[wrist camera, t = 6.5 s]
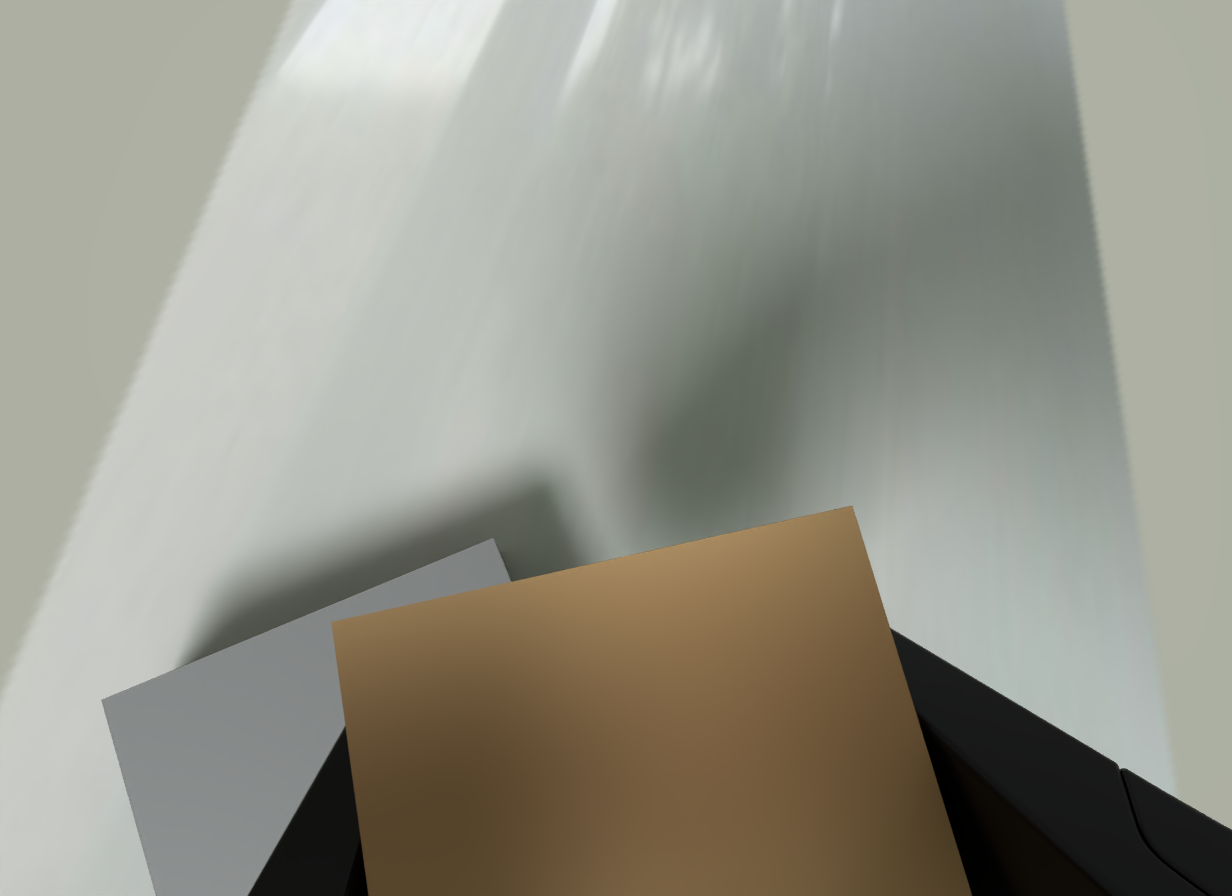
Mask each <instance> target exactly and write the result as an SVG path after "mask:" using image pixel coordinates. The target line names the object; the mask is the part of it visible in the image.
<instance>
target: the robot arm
mask: <svg viewBox="0 0 1232 896" xmlns="http://www.w3.org/2000/svg"><path fill="white" fill-rule="evenodd" d="M890 630H891V633H892V636H893V640H894V643H895V646H896V649H897V653H898V656H899V659H900V662H901V666H902V669H903V672H904V675H905V679H906V682H907V685H908V688H909V692H910V695H911V698H912V701H913V705H914V708H915V711H916V714H917V718H918V721H919V724H920V728H921V731H922V734H923V737H924V741H925V744H926V747H927V750H928V754H929V757H930V760H931V763H932V767H933V770H934V773H935V776H936V780H937V783H938V786H939V789H940V793H941V796H942V799H943V802H944V806H945V809H946V812H947V815H948V819H949V822H950V825H951V829H952V832H953V835H954V838H955V842H956V845H957V848H958V851H959V855H960V858H961V861H962V864H963V868H964V871H965V874H966V877H967V881H968V884H969V887H970V890H971V894H972V896H1232V830H1231V829H1230V828H1228V827H1226V826H1224V825H1222V824H1220V823H1219V822H1217V821H1215V820H1213V819H1212V818H1210V817H1208V816H1206V815H1205V814H1203V813H1201V812H1199V811H1198V810H1196V809H1194V808H1192V807H1191V806H1189V805H1187V804H1185V803H1184V802H1182V801H1180V800H1178V799H1177V798H1175V797H1173V796H1172V795H1170V794H1168V793H1166V792H1165V791H1163V790H1161V789H1159V788H1158V787H1156V786H1154V785H1153V784H1151V783H1149V782H1148V781H1146V780H1144V779H1143V778H1141V777H1139V776H1138V775H1136V774H1134V773H1133V772H1131V771H1129V770H1128V769H1125V768H1122V769H1119V766H1118V765H1117V763H1115V762H1114V761H1112V760H1110V759H1109V758H1107V757H1105V756H1104V755H1102V754H1100V753H1099V752H1097V751H1095V750H1094V749H1092V748H1090V747H1089V746H1087V745H1085V744H1084V743H1082V742H1080V741H1079V740H1077V739H1075V738H1074V737H1072V736H1070V735H1069V734H1067V733H1065V732H1064V731H1062V730H1060V729H1059V728H1057V727H1055V726H1054V725H1052V724H1050V723H1049V722H1047V721H1045V720H1044V719H1042V718H1040V717H1039V716H1037V715H1035V714H1034V713H1032V712H1030V711H1029V710H1027V709H1025V708H1023V707H1022V706H1020V705H1018V704H1017V703H1015V702H1013V701H1012V700H1010V699H1008V698H1007V697H1005V696H1003V695H1002V694H1000V693H998V692H997V691H995V690H993V689H992V688H990V687H988V686H987V685H985V684H983V683H982V682H980V681H978V680H977V679H975V678H973V677H972V676H970V675H968V674H967V673H965V672H963V671H962V670H960V669H958V668H957V667H955V666H953V665H952V664H950V663H948V662H947V661H945V660H943V659H942V658H940V657H938V656H937V655H935V654H933V653H931V652H930V651H928V650H926V649H925V648H923V647H921V646H920V645H918V644H916V643H915V642H913V641H911V640H910V639H908V638H906V637H905V636H903V635H901V634H900V633H898V632H896V631H895V630H893V629H891V628H890ZM247 896H369V895H368V888H367V880H366V873H365V866H364V858H363V851H362V844H361V836H360V829H359V822H358V815H357V807H356V800H355V793H354V785H353V778H352V771H351V763H350V756H349V749H348V741H347V734H346V727H345V726H344V728H343V730H342V732H341V733H340V735H339V737H338V739H337V740H336V742H335V744H334V745H333V747H332V749H331V751H330V752H329V754H328V756H327V758H326V759H325V761H324V763H323V765H322V766H321V768H320V770H319V772H318V773H317V775H316V777H315V779H314V780H313V782H312V784H311V786H310V787H309V789H308V791H307V793H306V794H305V796H304V798H303V800H302V801H301V803H300V805H299V807H298V808H297V810H296V812H295V814H294V815H293V817H292V819H291V820H290V822H289V824H288V826H287V827H286V829H285V831H284V833H283V834H282V836H281V838H280V840H279V841H278V843H277V845H276V847H275V848H274V850H273V852H272V854H271V855H270V857H269V859H268V861H267V862H266V864H265V866H264V868H263V869H262V871H261V873H260V875H259V876H258V878H257V880H256V882H255V883H254V885H253V887H252V888H251V890H250V892H249V894H248V895H247Z"/></svg>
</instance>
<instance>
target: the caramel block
mask: <svg viewBox="0 0 1232 896" xmlns="http://www.w3.org/2000/svg"><path fill="white" fill-rule="evenodd" d="M331 624H332V632H333V639H334V646H335V654H336V661H337V668H338V675H339V683H340V690H341V697H342V705H343V712H344V719H345V727H346V734H347V741H348V749H349V756H350V763H351V771H352V778H353V785H354V793H355V800H356V807H357V815H358V822H359V829H360V836H361V844H362V851H363V858H364V866H365V873H366V880H367V888H368V895H369V896H972V894H971V890H970V887H969V884H968V881H967V877H966V874H965V871H964V868H963V864H962V861H961V858H960V855H959V851H958V848H957V845H956V842H955V838H954V835H953V832H952V829H951V825H950V822H949V819H948V815H947V812H946V809H945V806H944V802H943V799H942V796H941V793H940V789H939V786H938V783H937V780H936V776H935V773H934V770H933V767H932V763H931V760H930V757H929V754H928V750H927V747H926V744H925V741H924V737H923V734H922V731H921V728H920V724H919V721H918V718H917V714H916V711H915V708H914V705H913V701H912V698H911V695H910V692H909V688H908V685H907V682H906V679H905V675H904V672H903V669H902V666H901V662H900V659H899V656H898V653H897V649H896V646H895V643H894V640H893V636H892V633H891V630H890V627H889V623H888V620H887V617H886V613H885V610H884V607H883V604H882V600H881V597H880V594H879V591H878V587H877V584H876V581H875V578H874V574H873V571H872V568H871V565H870V561H869V558H868V555H867V552H866V548H865V545H864V542H863V539H862V535H861V532H860V529H859V526H858V522H857V519H856V516H855V512H854V509H853V506H849V507H844V508H840V509H835V510H831V511H826V512H822V513H817V514H813V515H808V516H804V517H799V518H795V519H790V520H786V521H781V522H777V523H772V524H768V525H763V526H759V527H754V528H750V529H745V530H741V531H736V532H732V533H728V534H723V535H719V536H714V537H710V538H705V539H701V540H696V541H692V542H687V543H683V544H678V545H674V546H669V547H665V548H660V549H656V550H651V551H647V552H642V553H638V554H633V555H629V556H624V557H620V558H616V559H611V560H607V561H602V562H598V563H593V564H589V565H584V566H580V567H575V568H571V569H566V570H562V571H557V572H553V573H548V574H544V575H539V576H535V577H530V578H526V579H521V580H517V581H512V582H508V583H504V584H499V585H495V586H490V587H486V588H481V589H477V590H472V591H468V592H463V593H459V594H454V595H450V596H445V597H441V598H436V599H432V600H427V601H423V602H418V603H414V604H409V605H405V606H400V607H396V608H391V609H387V610H383V611H378V612H374V613H369V614H365V615H360V616H356V617H351V618H347V619H342V620H338V621H333V622H331Z"/></svg>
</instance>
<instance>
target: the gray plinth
mask: <svg viewBox="0 0 1232 896" xmlns="http://www.w3.org/2000/svg"><path fill="white" fill-rule="evenodd" d="M508 582H512V580H511V578H510V575H509V573H508V570H507V568H506V565H505V563H504V560H503V558H502V555H501V553H500V550H499V548H498V546H497V544H496V542H495V540H494V538H491V539H489V540H486V541H484V542H482V543H479V544H477V545H474V546H472V547H469V548H467V549H465V550H462V551H460V552H457V553H455V554H453V555H450V556H448V557H445V558H443V559H440V560H438V561H436V562H433V563H431V564H428V565H426V566H424V567H421V568H419V569H416V570H414V571H412V572H409V573H407V574H404V575H402V576H399V577H397V578H395V579H392V580H390V581H387V582H385V583H383V584H380V585H378V586H375V587H373V588H370V589H368V590H366V591H363V592H361V593H358V594H356V595H354V596H351V597H349V598H346V599H344V600H341V601H339V602H337V603H334V604H332V605H329V606H327V607H325V608H322V609H320V610H317V611H315V612H313V613H310V614H308V615H305V616H303V617H300V618H298V619H296V620H293V621H291V622H288V623H286V624H284V625H281V626H279V627H276V628H274V629H271V630H269V631H267V632H264V633H262V634H259V635H257V636H255V637H252V638H250V639H247V640H245V641H243V642H240V643H238V644H235V645H233V646H230V647H228V648H226V649H223V650H221V651H218V652H216V653H214V654H211V655H209V656H206V657H204V658H201V659H199V660H197V661H194V662H192V663H189V664H187V665H185V666H182V667H180V668H177V669H175V670H172V671H170V672H168V673H165V674H163V675H160V676H158V677H156V678H153V679H151V680H148V681H146V682H144V683H141V684H139V685H136V686H134V687H131V688H129V689H127V690H124V691H122V692H119V693H117V694H115V695H112V696H110V697H107V698H105V699H102V704H103V707H104V711H105V715H106V718H107V722H108V725H109V729H110V732H111V736H112V740H113V743H114V747H115V750H116V754H117V758H118V761H119V765H120V768H121V772H122V776H123V779H124V783H125V786H126V790H127V793H128V797H129V801H130V804H131V808H132V811H133V815H134V819H135V822H136V826H137V829H138V833H139V837H140V840H141V844H142V847H143V851H144V854H145V858H146V862H147V865H148V869H149V872H150V876H151V880H152V883H153V887H154V890H155V894H156V896H247V895H248V894H249V892H250V890H251V888H252V887H253V885H254V883H255V882H256V880H257V878H258V876H259V875H260V873H261V871H262V869H263V868H264V866H265V864H266V862H267V861H268V859H269V857H270V855H271V854H272V852H273V850H274V848H275V847H276V845H277V843H278V841H279V840H280V838H281V836H282V834H283V833H284V831H285V829H286V827H287V826H288V824H289V822H290V820H291V819H292V817H293V815H294V814H295V812H296V810H297V808H298V807H299V805H300V803H301V801H302V800H303V798H304V796H305V794H306V793H307V791H308V789H309V787H310V786H311V784H312V782H313V780H314V779H315V777H316V775H317V773H318V772H319V770H320V768H321V766H322V765H323V763H324V761H325V759H326V758H327V756H328V754H329V752H330V751H331V749H332V747H333V745H334V744H335V742H336V740H337V739H338V737H339V735H340V733H341V732H342V730H343V728H344V726H345V719H344V712H343V705H342V697H341V690H340V683H339V675H338V668H337V661H336V654H335V646H334V639H333V632H332V624H331V622H333V621H338V620H342V619H347V618H351V617H356V616H360V615H365V614H369V613H374V612H378V611H383V610H387V609H391V608H396V607H400V606H405V605H409V604H414V603H418V602H423V601H427V600H432V599H436V598H441V597H445V596H450V595H454V594H459V593H463V592H468V591H472V590H477V589H481V588H486V587H490V586H495V585H499V584H504V583H508Z"/></svg>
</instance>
